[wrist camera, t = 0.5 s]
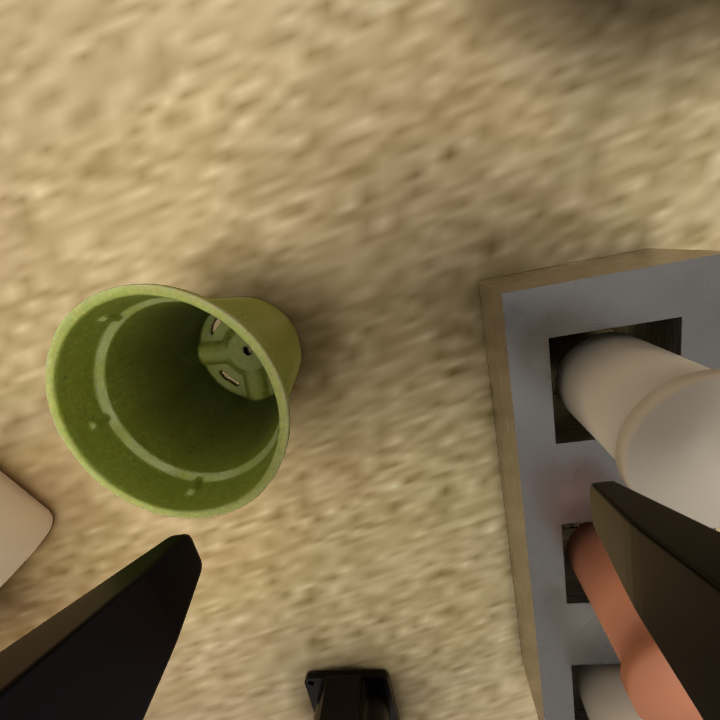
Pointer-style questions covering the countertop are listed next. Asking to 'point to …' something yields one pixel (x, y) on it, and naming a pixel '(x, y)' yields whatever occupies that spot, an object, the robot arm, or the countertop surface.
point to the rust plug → (627, 633)
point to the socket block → (574, 432)
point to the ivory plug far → (604, 693)
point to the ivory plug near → (649, 418)
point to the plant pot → (174, 396)
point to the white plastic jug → (19, 526)
